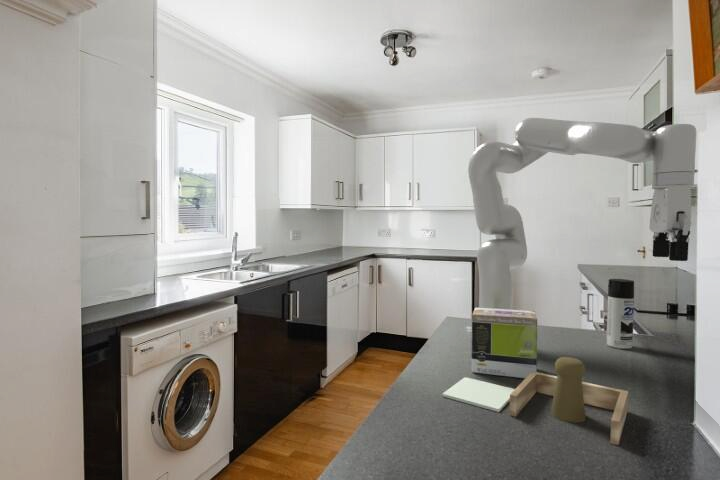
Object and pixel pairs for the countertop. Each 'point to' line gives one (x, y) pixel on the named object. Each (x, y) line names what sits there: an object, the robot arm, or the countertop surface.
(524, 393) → the wooden u-shaped frame
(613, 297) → the spray can
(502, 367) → the tea box
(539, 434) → the countertop surface
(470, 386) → the mat
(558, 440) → the countertop surface
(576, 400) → the cork
